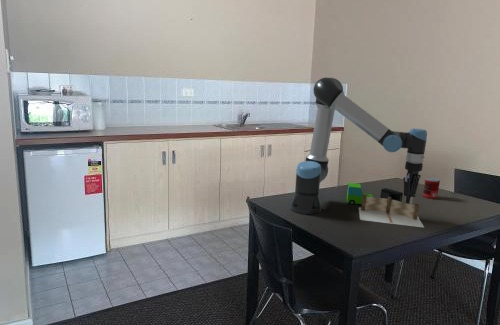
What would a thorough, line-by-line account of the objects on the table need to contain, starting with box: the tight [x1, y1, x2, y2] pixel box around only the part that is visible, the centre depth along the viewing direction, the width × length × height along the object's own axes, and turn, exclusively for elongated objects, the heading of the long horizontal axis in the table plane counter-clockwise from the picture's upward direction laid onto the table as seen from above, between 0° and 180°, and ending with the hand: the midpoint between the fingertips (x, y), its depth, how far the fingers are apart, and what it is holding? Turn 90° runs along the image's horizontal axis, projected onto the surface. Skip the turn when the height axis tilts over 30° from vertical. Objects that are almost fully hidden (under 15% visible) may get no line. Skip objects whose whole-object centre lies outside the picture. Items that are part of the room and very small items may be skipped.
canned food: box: [422, 176, 441, 200], centre depth 226 cm, size 8×8×11 cm
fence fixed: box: [360, 193, 392, 213], centre depth 194 cm, size 14×2×8 cm, turn 77°
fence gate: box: [390, 200, 420, 219], centre depth 189 cm, size 13×2×7 cm, turn 51°
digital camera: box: [379, 187, 404, 202], centre depth 212 cm, size 10×5×7 cm, turn 41°
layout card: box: [358, 206, 425, 228], centre depth 188 cm, size 28×19×1 cm
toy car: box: [346, 182, 374, 205], centre depth 207 cm, size 10×13×10 cm
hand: (407, 209), depth 189 cm, fingers closed
